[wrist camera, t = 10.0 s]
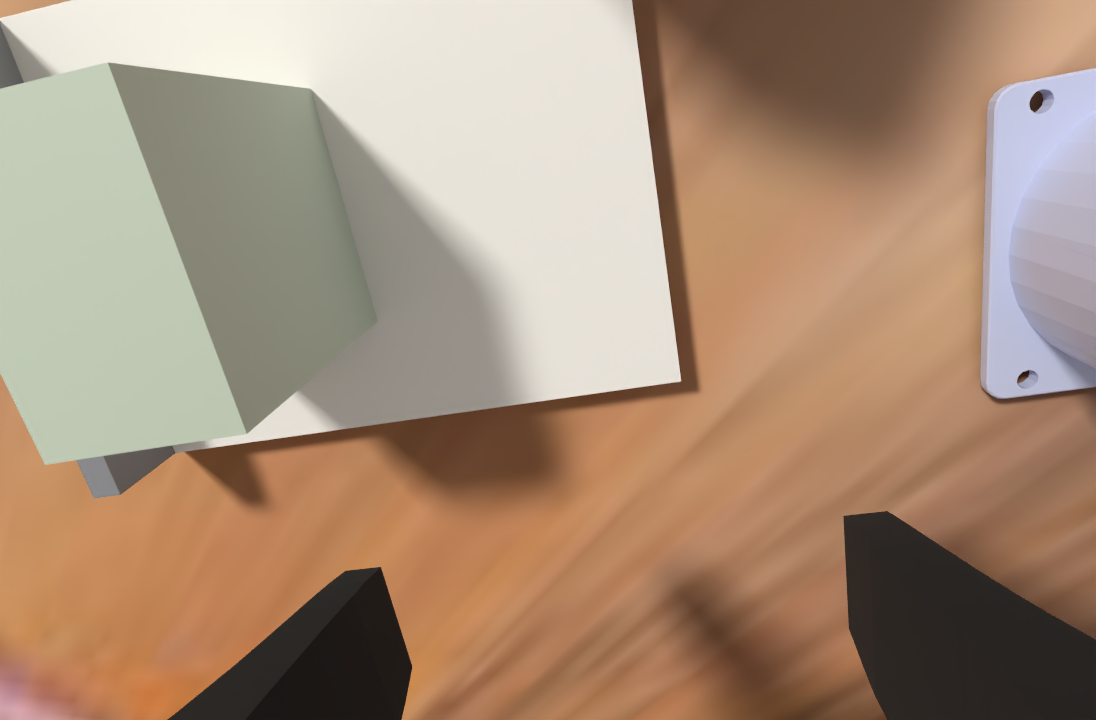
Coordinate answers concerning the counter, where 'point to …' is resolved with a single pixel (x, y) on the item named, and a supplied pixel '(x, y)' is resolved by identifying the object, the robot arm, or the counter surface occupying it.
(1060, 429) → the counter surface
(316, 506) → the counter surface
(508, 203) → the shelf board
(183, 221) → the carton
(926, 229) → the counter surface
